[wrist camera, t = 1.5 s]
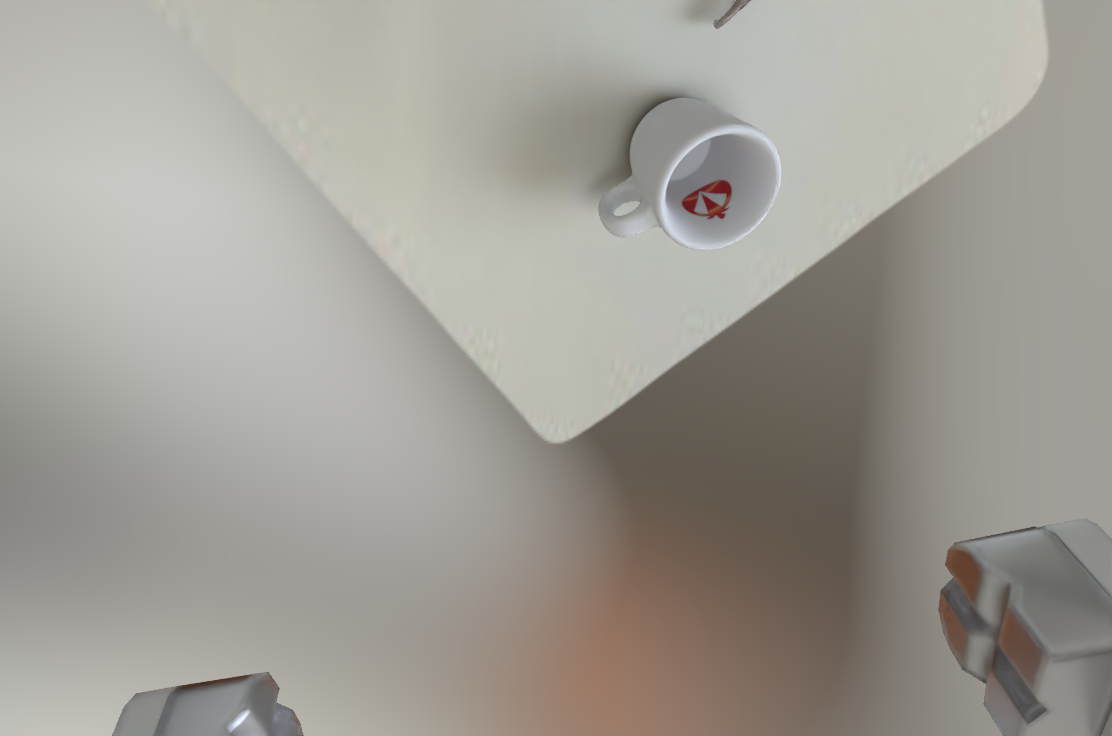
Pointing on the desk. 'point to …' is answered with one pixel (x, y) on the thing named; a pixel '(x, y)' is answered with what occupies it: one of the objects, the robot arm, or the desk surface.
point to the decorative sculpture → (731, 12)
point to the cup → (695, 176)
